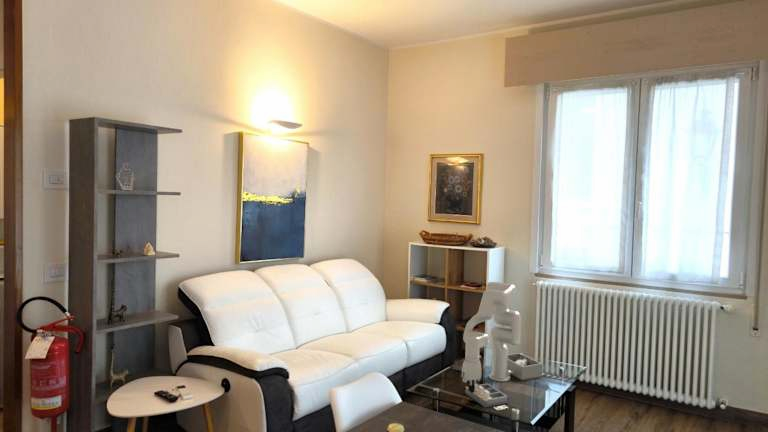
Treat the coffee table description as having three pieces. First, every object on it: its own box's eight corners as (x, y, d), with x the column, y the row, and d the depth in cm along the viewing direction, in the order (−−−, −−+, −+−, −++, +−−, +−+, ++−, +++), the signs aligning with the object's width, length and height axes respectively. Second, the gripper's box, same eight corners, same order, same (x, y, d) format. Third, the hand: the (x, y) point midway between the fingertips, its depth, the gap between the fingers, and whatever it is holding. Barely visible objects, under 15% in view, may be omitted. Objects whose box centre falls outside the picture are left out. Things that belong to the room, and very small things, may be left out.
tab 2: (481, 394, 295) (482, 385, 295) (486, 397, 291) (486, 388, 291) (475, 395, 293) (475, 386, 293) (479, 398, 290) (480, 389, 289)
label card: (504, 405, 284) (504, 404, 284) (508, 408, 281) (508, 407, 281) (493, 407, 281) (493, 407, 281) (497, 410, 278) (497, 409, 278)
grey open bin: (519, 364, 346) (520, 352, 345) (542, 376, 326) (542, 363, 325) (500, 367, 340) (500, 355, 340) (522, 380, 320) (522, 367, 319)
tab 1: (475, 390, 300) (475, 381, 300) (479, 392, 296) (479, 384, 296) (469, 391, 299) (469, 382, 298) (473, 394, 295) (473, 385, 295)
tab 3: (487, 398, 289) (487, 389, 289) (491, 401, 285) (492, 392, 285) (481, 399, 288) (481, 390, 287) (485, 402, 284) (485, 393, 284)
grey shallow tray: (487, 389, 306) (487, 382, 306) (508, 402, 287) (508, 396, 287) (465, 393, 300) (465, 386, 300) (484, 407, 282) (485, 400, 281)
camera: (523, 376, 325) (524, 360, 324) (511, 374, 329) (512, 358, 328) (531, 369, 337) (531, 353, 337) (519, 366, 341) (519, 351, 341)
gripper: (480, 354, 295) (479, 387, 296) (456, 358, 289) (455, 391, 290) (487, 359, 288) (487, 392, 289) (463, 362, 282) (463, 396, 283)
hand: (471, 391), depth 289 cm, fingers closed
